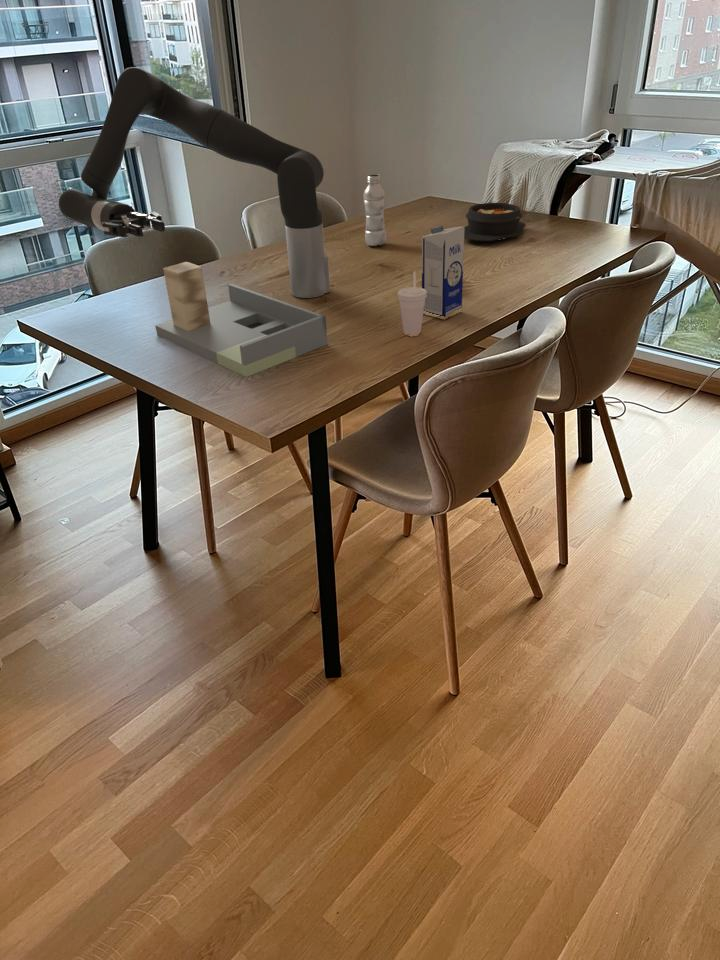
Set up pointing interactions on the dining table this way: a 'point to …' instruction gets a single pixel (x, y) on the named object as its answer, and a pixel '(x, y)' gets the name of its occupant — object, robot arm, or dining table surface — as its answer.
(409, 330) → the smoothie
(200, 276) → the maple block
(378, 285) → the dining table surface
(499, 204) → the casserole
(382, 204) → the plastic bottle
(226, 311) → the trap deck
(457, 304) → the milk carton
